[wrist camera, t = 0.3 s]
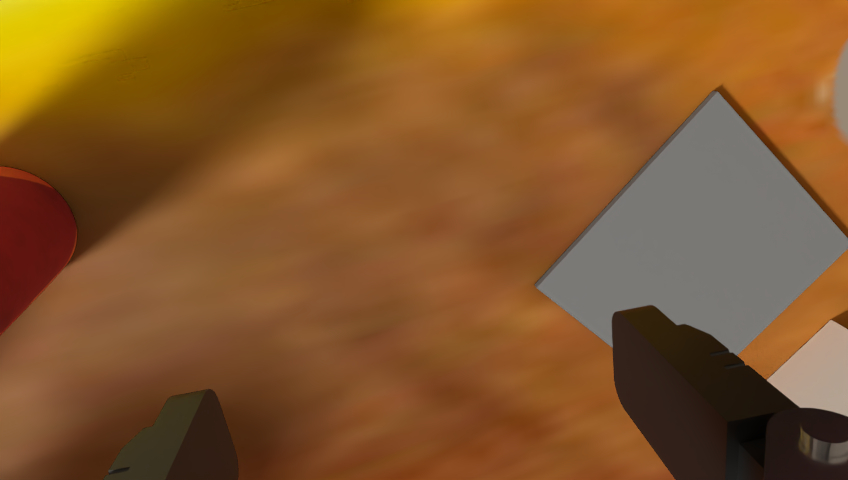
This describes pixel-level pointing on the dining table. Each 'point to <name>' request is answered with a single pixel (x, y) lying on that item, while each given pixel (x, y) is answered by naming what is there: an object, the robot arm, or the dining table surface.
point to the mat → (700, 237)
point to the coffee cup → (30, 240)
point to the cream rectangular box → (818, 372)
